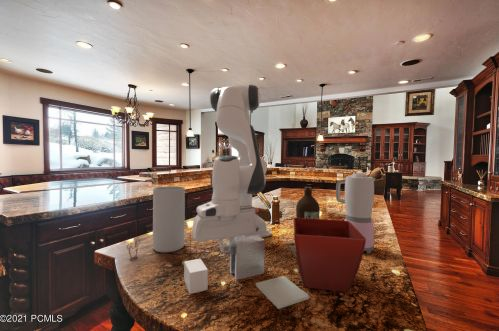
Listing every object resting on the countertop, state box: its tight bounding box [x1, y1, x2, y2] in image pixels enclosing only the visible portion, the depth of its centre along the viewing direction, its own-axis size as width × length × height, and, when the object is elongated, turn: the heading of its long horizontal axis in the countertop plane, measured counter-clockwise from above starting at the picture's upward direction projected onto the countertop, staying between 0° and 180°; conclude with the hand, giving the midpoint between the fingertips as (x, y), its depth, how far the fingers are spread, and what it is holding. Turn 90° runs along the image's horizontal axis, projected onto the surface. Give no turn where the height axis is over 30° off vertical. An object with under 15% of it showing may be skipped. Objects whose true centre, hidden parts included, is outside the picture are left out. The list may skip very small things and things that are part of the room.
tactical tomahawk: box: [283, 242, 297, 259], centre depth 94 cm, size 21×7×1 cm, turn 2°
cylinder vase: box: [152, 185, 186, 253], centre depth 98 cm, size 12×12×25 cm
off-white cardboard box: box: [183, 258, 209, 295], centre depth 69 cm, size 5×8×6 cm, turn 27°
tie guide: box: [229, 235, 266, 281], centre depth 77 cm, size 10×5×11 cm, turn 117°
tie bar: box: [228, 244, 266, 255], centre depth 76 cm, size 12×2×2 cm, turn 117°
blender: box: [335, 173, 377, 254], centre depth 101 cm, size 16×12×32 cm
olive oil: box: [295, 186, 321, 219], centre depth 108 cm, size 11×11×25 cm
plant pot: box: [293, 217, 366, 293], centre depth 73 cm, size 19×19×17 cm
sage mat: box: [255, 275, 310, 310], centre depth 66 cm, size 10×12×1 cm
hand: (225, 251), depth 73 cm, fingers closed
